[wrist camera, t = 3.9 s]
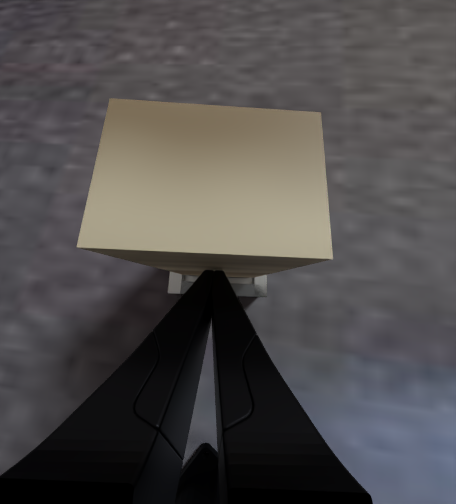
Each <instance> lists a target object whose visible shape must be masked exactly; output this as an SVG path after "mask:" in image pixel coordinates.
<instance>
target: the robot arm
mask: <svg viewBox="0 0 456 504" xmlns="http://www.w3.org/2000/svg"><path fill="white" fill-rule="evenodd" d="M211 318H212V339H213V361H214V383H215V405H216V426H217V448H218V453H217V451H216V450H215V449H214V448H213V447H212V446H211V445H210V444H209V443H204V444H203V445H202V446H201V447H200V448H199V449H198V451H197V452H196V453H195V455H194V456H193V457H192V459H191V460H190V461H189V462H188V464H187V465H186V466H185V468H184V469H183V470H182V472H181V469H182V464H183V461H182V460H183V459H184V454H185V449H186V444H187V439H188V434H189V429H190V424H191V419H192V414H193V409H194V404H195V399H196V394H197V389H198V384H199V379H200V374H201V369H202V364H203V359H204V354H205V349H206V344H207V339H208V334H209V329H210V324H211ZM256 334H257V333H256V331H255V329H254V327H253V326H252V324H251V322H250V320H249V318H248V316H247V314H246V312H245V310H244V308H243V307H242V305H241V303H240V301H239V299H238V297H237V295H236V293H235V291H234V289H233V288H232V286H231V284H230V282H229V280H228V278H227V276H226V274H225V272H224V271H223V270H215V271H214V270H204V271H203V272H202V274H201V275H200V276H199V277H198V278H197V279H196V281H195V282H194V283H193V284H192V285H191V286H190V288H189V289H188V290H187V291H186V292H185V293H184V295H183V296H182V297H181V298H180V299H179V300H178V302H177V303H176V304H175V305H174V306H173V307H172V309H171V310H170V311H169V312H168V313H167V314H166V315H165V317H164V318H163V319H162V320H161V321H160V322H159V324H158V325H157V326H156V327H155V328H154V329H153V332H151V333H150V334H149V335H148V336H147V337H146V339H145V340H144V341H143V342H142V343H141V344H140V345H139V347H138V348H137V349H136V350H135V351H134V352H133V353H132V354H131V355H130V357H129V358H128V359H127V360H126V361H125V362H124V363H123V364H122V365H121V366H120V367H119V368H118V369H117V370H116V371H115V372H114V373H113V374H112V375H111V376H110V377H109V378H108V379H107V380H106V381H105V382H104V383H103V384H102V385H101V386H100V387H99V388H98V389H97V390H96V391H95V392H94V393H93V394H92V395H91V396H90V397H89V398H88V399H86V400H85V401H84V402H83V403H82V404H81V405H80V406H79V407H78V408H77V409H76V410H75V411H74V412H73V413H72V414H71V415H70V416H69V417H68V418H67V419H66V420H65V421H64V422H63V423H62V424H61V425H60V426H59V427H58V428H57V429H56V430H55V431H54V432H53V433H52V434H51V435H50V436H49V437H47V438H46V439H45V440H44V441H43V442H42V443H41V444H40V445H38V446H37V447H36V448H35V449H34V450H33V451H31V452H30V453H29V454H28V455H27V456H25V457H24V458H23V459H22V460H20V461H19V462H18V463H17V464H15V465H14V466H13V467H11V468H10V469H9V470H7V471H6V472H5V473H3V474H2V475H0V504H373V503H372V498H371V496H370V494H369V493H368V492H367V491H366V490H365V489H364V488H363V487H362V486H361V485H360V484H359V483H358V482H357V481H356V479H355V478H354V477H353V476H352V475H351V474H350V473H349V471H348V470H347V469H346V468H345V467H344V466H343V464H342V463H341V462H340V461H339V459H338V458H337V457H336V456H335V454H334V453H333V452H332V450H331V449H330V447H329V446H328V445H327V443H326V442H325V441H324V439H323V438H322V436H321V435H320V433H319V432H318V430H317V429H316V427H315V426H314V424H313V423H312V421H311V420H310V418H309V417H308V415H307V414H306V412H305V411H304V409H303V408H302V406H301V405H300V403H299V402H298V400H297V399H296V397H295V396H294V394H293V393H292V391H291V390H290V388H289V387H288V385H287V384H286V382H285V381H284V379H283V378H282V376H281V375H280V373H279V372H278V370H277V368H276V367H275V365H274V364H273V362H272V360H271V359H270V357H269V355H268V353H267V351H266V350H265V348H264V346H263V344H262V342H261V341H260V339H259V337H258V335H256ZM204 452H208V454H204Z"/></svg>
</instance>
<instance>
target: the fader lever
mask: <svg viewBox="0 0 456 504" xmlns="http://www.w3.org/2000/svg"><path fill="white" fill-rule="evenodd" d="M77 248H81V249H85V250H89V251H93V252H97V253H101V254H104V255H108V256H112V257H116V258H120V259H124V260H128V261H132V262H136V263H139V264H143V265H147V266H151V267H155V268H159V269H163V270H167V271H171V272H174V273H178V274H182V275H189V276H200V275H201V274H202V272H203V271H204V270H214V271H215V270H223V271H224V272H225V274H226V276H227V277H230V278H254V277H258V276H263V275H267V274H271V273H276V272H280V271H284V270H288V269H293V268H297V267H301V266H306V265H310V264H314V263H318V262H323V261H327V260H331V259H333V254H332V242H331V230H330V218H329V206H328V194H327V182H326V170H325V158H324V145H323V133H322V121H321V112H306V111H291V110H276V109H261V108H246V107H231V106H216V105H201V104H186V103H171V102H156V101H141V100H126V99H111V98H110V100H109V105H108V109H107V114H106V118H105V123H104V127H103V132H102V136H101V141H100V145H99V149H98V154H97V158H96V163H95V167H94V172H93V176H92V181H91V185H90V190H89V194H88V199H87V203H86V208H85V212H84V217H83V221H82V226H81V230H80V235H79V239H78V244H77Z"/></svg>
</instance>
